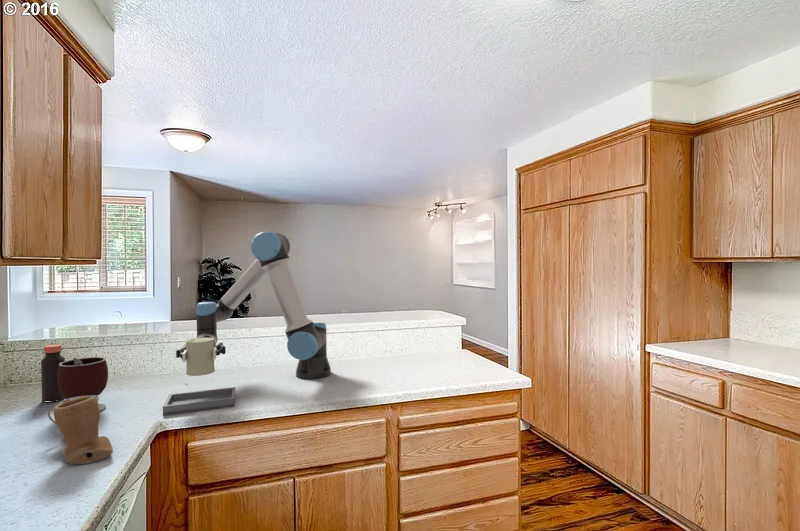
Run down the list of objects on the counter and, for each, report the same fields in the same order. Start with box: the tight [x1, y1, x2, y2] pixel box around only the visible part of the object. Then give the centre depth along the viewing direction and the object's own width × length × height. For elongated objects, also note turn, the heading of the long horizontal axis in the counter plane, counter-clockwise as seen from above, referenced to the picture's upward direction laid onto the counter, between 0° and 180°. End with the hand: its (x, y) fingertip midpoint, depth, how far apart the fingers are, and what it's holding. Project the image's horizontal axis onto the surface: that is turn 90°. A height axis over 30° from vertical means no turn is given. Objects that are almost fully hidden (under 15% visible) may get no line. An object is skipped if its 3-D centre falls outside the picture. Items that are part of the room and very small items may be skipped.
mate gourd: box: [57, 356, 109, 413], centre depth 145 cm, size 16×14×20 cm
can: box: [185, 337, 216, 377], centre depth 151 cm, size 9×9×12 cm
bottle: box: [40, 344, 66, 402], centre depth 158 cm, size 7×7×20 cm
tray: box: [162, 386, 236, 416], centre depth 151 cm, size 22×14×3 cm, turn 110°
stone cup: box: [53, 396, 114, 465], centre depth 112 cm, size 15×12×15 cm
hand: (199, 356), depth 147 cm, fingers closed on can, 9 cm apart
